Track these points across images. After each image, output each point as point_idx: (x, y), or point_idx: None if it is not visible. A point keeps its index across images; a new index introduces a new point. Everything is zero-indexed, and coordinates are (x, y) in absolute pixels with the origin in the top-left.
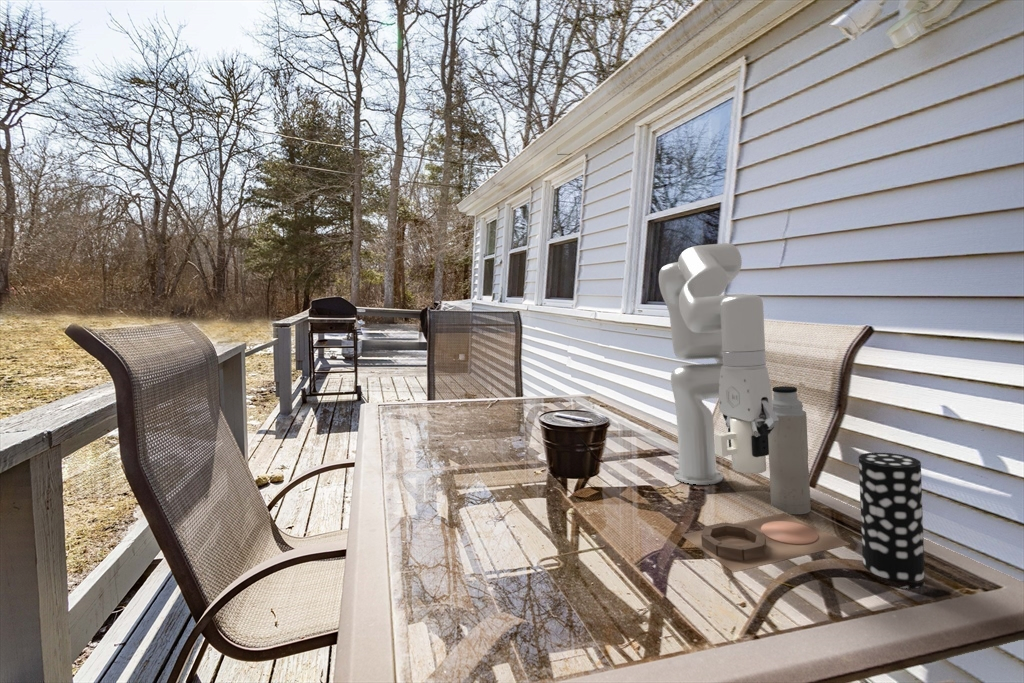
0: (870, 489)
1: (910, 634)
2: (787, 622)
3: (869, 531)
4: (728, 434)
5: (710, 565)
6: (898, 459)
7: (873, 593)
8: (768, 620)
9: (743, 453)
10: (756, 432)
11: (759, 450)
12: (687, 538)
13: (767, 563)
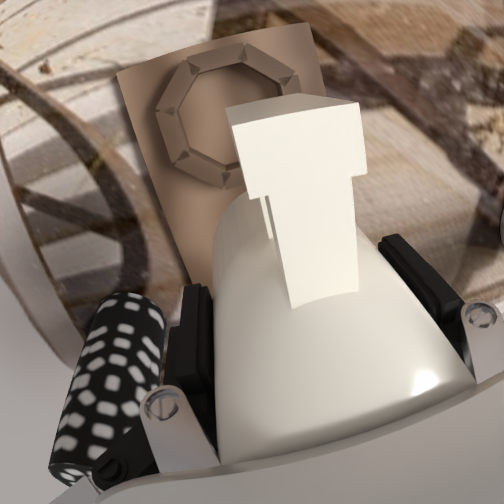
0: (76, 413)
1: (5, 259)
2: (6, 123)
3: (101, 346)
4: (281, 231)
5: (177, 43)
6: None
7: (80, 273)
8: (9, 98)
9: (234, 251)
10: (158, 414)
11: (178, 329)
12: (285, 28)
13: (143, 151)
